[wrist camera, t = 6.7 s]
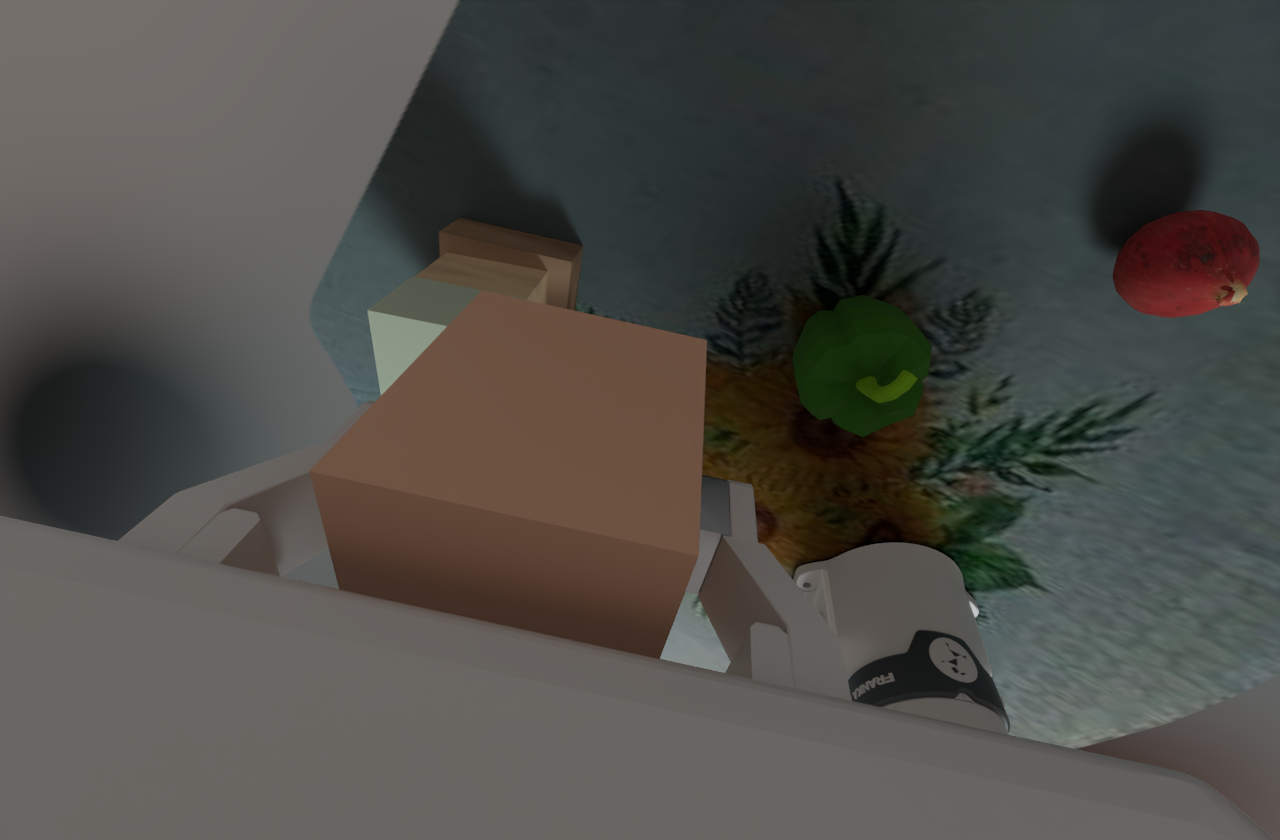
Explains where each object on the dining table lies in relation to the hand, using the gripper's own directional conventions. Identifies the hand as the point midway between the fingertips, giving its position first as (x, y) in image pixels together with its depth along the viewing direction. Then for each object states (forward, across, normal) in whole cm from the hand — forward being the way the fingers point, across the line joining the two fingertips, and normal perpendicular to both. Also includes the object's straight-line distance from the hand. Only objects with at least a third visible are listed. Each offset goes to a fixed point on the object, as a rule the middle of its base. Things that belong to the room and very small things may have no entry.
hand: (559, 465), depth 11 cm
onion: (+29, -30, -2) cm, 42 cm away
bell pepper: (+29, -15, +8) cm, 34 cm away
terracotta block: (+2, 0, 0) cm, 2 cm away
